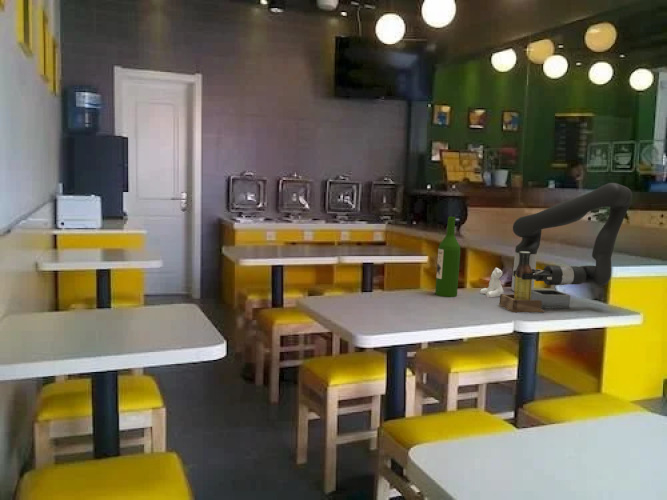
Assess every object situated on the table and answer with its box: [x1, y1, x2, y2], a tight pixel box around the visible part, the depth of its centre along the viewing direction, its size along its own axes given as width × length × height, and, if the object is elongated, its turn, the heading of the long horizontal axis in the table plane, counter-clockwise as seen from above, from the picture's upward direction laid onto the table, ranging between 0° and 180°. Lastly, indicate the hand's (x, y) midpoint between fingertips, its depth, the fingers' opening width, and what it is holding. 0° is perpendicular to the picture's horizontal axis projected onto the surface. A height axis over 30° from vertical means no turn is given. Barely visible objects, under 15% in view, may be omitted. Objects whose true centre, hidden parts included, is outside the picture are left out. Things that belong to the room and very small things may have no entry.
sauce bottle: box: [513, 251, 532, 300], centre depth 235 cm, size 6×6×20 cm
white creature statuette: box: [480, 267, 504, 298], centre depth 261 cm, size 10×9×12 cm
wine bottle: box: [434, 216, 461, 298], centre depth 255 cm, size 9×9×32 cm
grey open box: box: [531, 289, 571, 309], centre depth 247 cm, size 11×12×5 cm
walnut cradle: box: [498, 293, 544, 313], centre depth 236 cm, size 12×12×4 cm
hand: (518, 274), depth 234 cm, fingers closed on sauce bottle, 6 cm apart
